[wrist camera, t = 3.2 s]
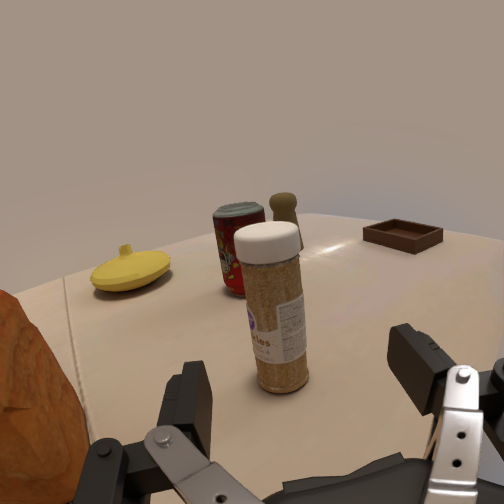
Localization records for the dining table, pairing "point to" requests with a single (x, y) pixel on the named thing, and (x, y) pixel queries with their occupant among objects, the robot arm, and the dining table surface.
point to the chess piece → (285, 209)
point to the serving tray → (403, 235)
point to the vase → (130, 270)
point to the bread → (36, 416)
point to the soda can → (225, 228)
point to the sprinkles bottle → (274, 302)
